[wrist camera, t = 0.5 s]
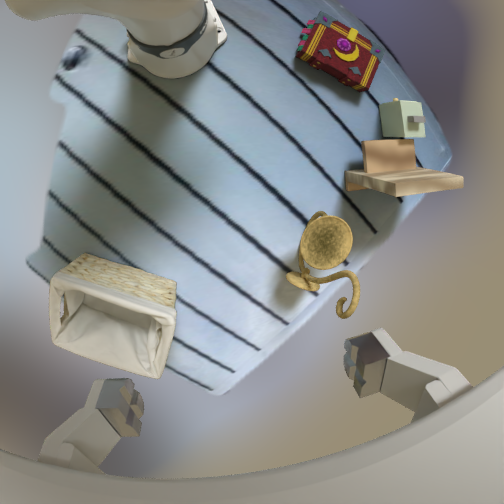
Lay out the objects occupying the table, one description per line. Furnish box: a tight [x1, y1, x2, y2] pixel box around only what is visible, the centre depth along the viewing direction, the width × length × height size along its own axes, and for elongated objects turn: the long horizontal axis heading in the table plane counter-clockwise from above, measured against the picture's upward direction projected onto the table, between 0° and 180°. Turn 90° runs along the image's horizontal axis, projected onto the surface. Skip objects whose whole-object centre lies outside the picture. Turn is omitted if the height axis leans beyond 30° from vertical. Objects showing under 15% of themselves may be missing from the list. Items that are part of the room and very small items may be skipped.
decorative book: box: [296, 11, 385, 92], centre depth 42 cm, size 11×16×5 cm
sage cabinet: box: [379, 98, 426, 137], centre depth 46 cm, size 8×6×10 cm
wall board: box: [345, 139, 463, 197], centre depth 45 cm, size 10×16×18 cm, turn 99°
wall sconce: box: [286, 211, 360, 319], centre depth 45 cm, size 14×10×25 cm
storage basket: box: [49, 252, 177, 379], centre depth 50 cm, size 24×16×15 cm
